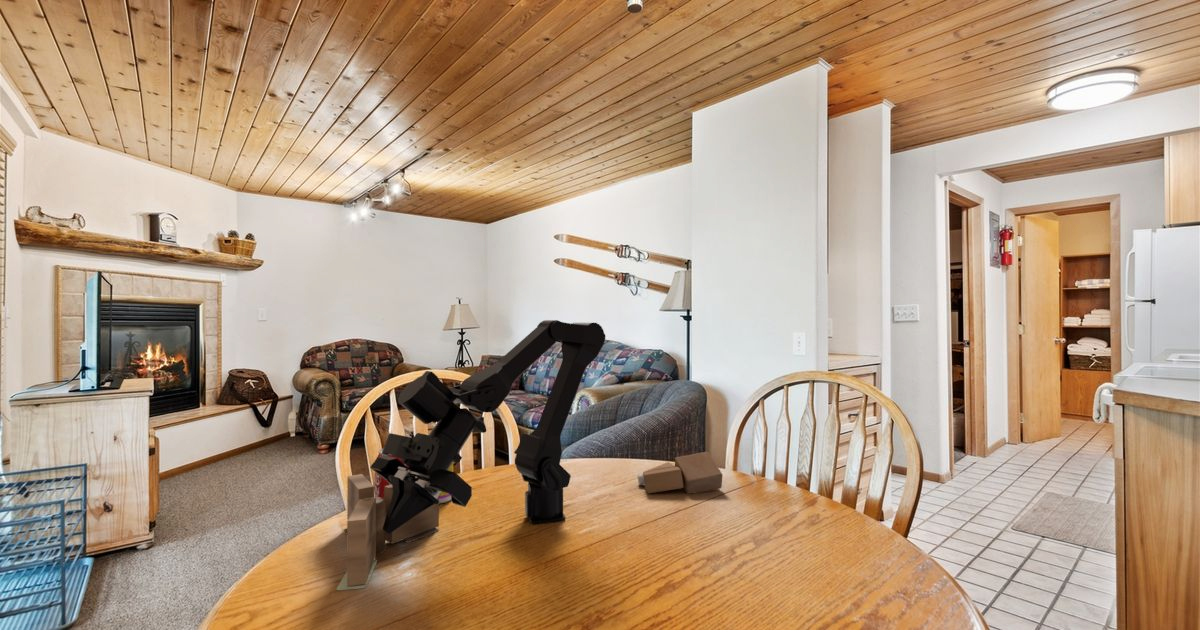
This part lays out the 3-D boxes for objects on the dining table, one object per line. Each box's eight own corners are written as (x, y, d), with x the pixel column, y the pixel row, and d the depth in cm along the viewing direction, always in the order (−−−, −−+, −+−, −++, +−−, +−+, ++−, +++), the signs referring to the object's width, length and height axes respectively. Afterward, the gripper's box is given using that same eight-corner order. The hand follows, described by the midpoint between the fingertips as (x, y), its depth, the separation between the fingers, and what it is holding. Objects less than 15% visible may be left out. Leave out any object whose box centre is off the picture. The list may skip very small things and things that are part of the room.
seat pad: (352, 563, 79) (352, 561, 79) (377, 561, 79) (377, 559, 79) (336, 590, 71) (336, 588, 71) (364, 587, 72) (364, 585, 72)
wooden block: (638, 491, 121) (713, 479, 122) (643, 504, 108) (727, 490, 109) (633, 459, 122) (707, 447, 123) (637, 468, 109) (720, 455, 110)
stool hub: (439, 517, 97) (439, 467, 97) (438, 548, 84) (438, 490, 84) (345, 527, 93) (345, 475, 93) (329, 562, 79) (329, 500, 79)
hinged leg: (359, 556, 80) (359, 498, 80) (376, 554, 81) (376, 497, 81) (347, 586, 71) (347, 521, 71) (365, 583, 72) (365, 519, 72)
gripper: (380, 406, 85) (313, 492, 76) (455, 418, 74) (387, 519, 65) (421, 443, 91) (364, 527, 82) (496, 459, 81) (439, 556, 71)
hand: (385, 531), depth 75 cm, fingers closed
